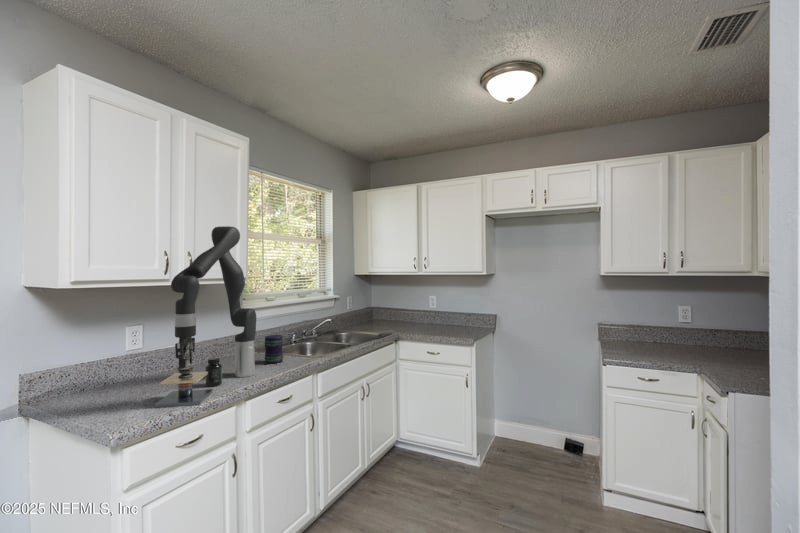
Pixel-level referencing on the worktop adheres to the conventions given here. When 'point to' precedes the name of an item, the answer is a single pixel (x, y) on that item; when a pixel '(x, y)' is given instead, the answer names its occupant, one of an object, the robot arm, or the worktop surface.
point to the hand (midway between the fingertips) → (185, 365)
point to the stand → (184, 391)
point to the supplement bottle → (213, 372)
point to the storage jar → (273, 349)
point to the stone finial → (186, 368)
